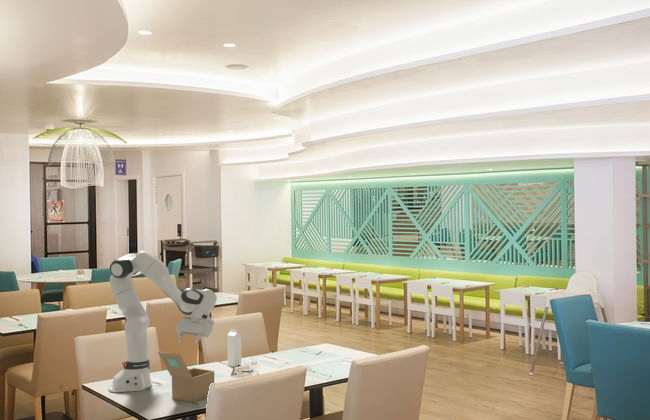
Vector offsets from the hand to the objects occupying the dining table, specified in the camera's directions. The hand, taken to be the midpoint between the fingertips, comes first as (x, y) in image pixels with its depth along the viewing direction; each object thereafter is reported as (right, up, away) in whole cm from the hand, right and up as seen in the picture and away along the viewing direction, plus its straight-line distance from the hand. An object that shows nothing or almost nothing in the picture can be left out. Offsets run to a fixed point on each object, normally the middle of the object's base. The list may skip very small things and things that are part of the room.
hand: (187, 341), depth 327 cm
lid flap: (-4, -10, -8) cm, 13 cm away
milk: (+14, -28, +67) cm, 74 cm away
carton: (+3, -28, +3) cm, 29 cm away
